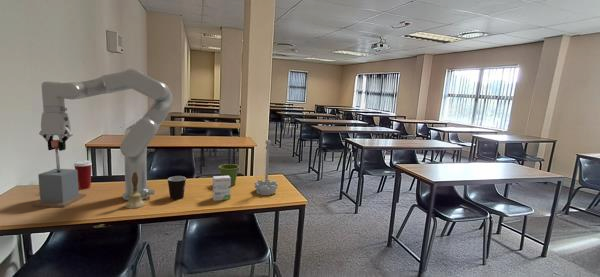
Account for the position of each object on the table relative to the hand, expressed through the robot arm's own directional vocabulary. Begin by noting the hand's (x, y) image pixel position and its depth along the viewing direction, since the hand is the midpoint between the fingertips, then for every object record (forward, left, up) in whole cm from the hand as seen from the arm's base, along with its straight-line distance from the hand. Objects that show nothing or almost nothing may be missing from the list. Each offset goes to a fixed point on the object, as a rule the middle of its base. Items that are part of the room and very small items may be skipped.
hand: (57, 149), depth 136 cm
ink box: (-72, -13, -25) cm, 77 cm away
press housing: (0, 0, -25) cm, 25 cm away
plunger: (0, 0, -14) cm, 14 cm away
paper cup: (+2, -19, -25) cm, 31 cm away
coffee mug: (-50, -13, -25) cm, 57 cm away
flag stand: (-94, -27, -25) cm, 101 cm away
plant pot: (-71, -36, -25) cm, 83 cm away
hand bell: (-35, +1, -25) cm, 43 cm away
